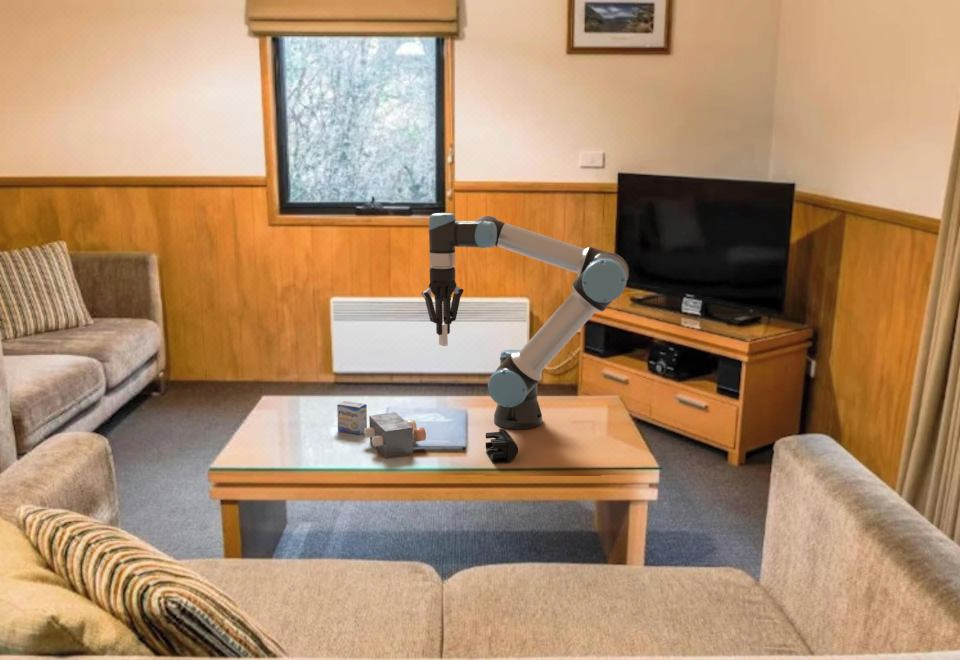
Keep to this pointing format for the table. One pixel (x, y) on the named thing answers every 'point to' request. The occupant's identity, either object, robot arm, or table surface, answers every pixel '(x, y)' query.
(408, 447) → the grey peg holder block
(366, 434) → the knob
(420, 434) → the knob
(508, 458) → the end cap
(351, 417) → the medicine box
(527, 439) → the table surface
